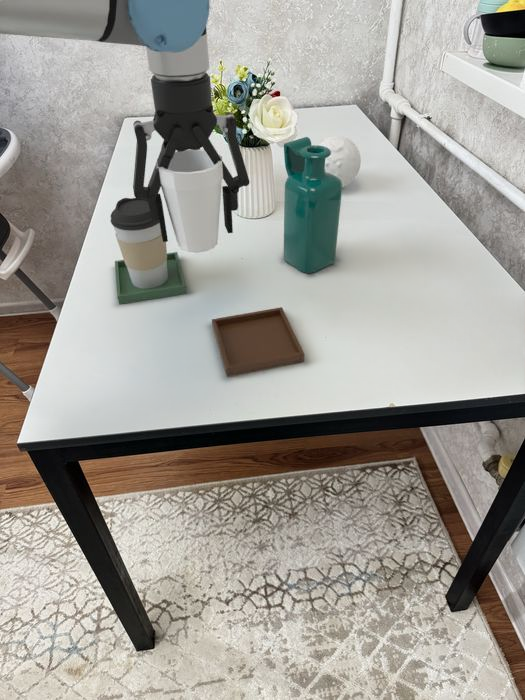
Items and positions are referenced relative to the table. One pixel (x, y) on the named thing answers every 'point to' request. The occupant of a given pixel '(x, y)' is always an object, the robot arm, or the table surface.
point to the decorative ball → (342, 158)
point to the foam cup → (193, 198)
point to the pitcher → (310, 207)
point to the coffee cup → (140, 242)
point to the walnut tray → (256, 341)
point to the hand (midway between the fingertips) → (197, 233)
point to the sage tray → (134, 294)
